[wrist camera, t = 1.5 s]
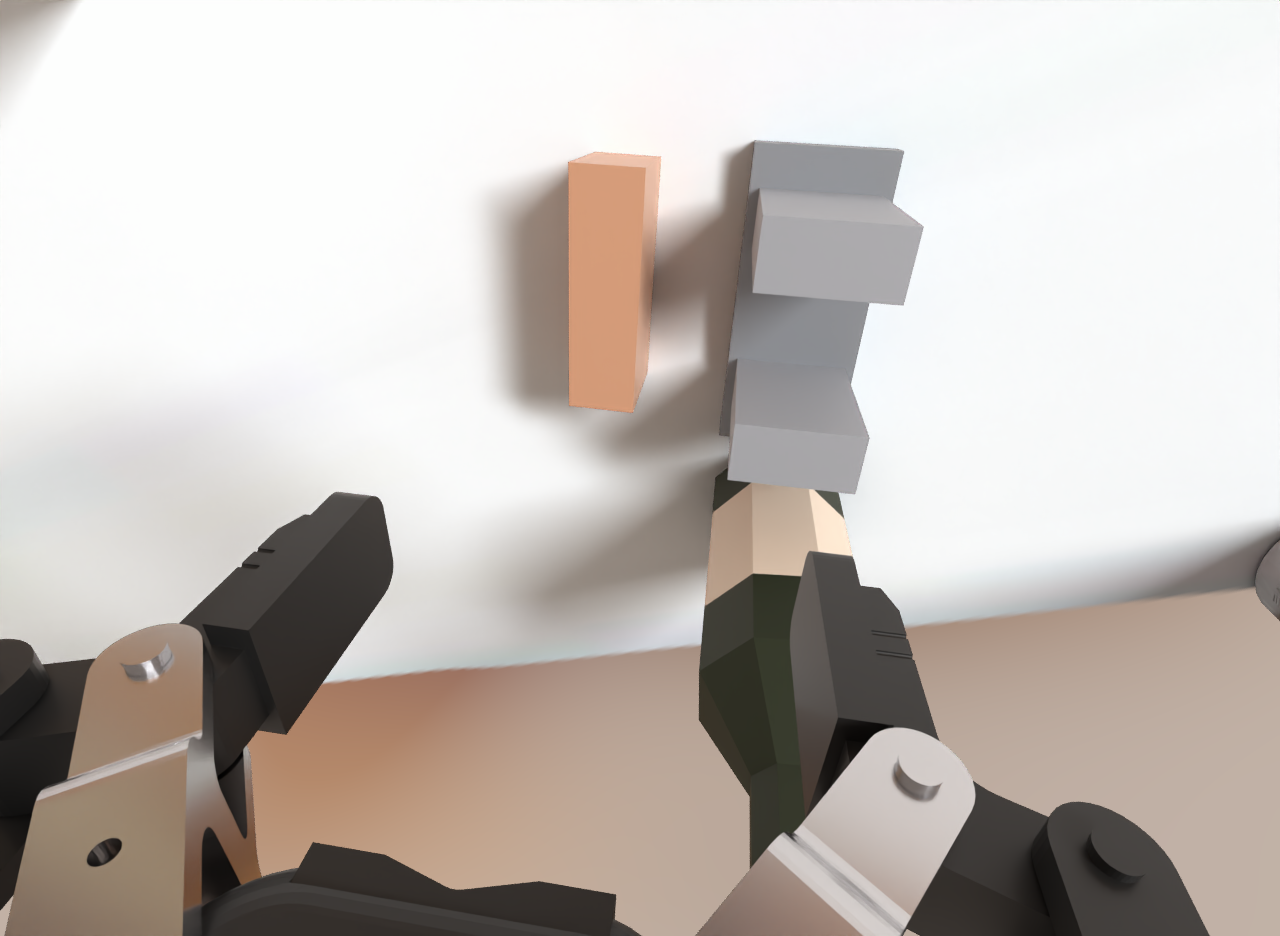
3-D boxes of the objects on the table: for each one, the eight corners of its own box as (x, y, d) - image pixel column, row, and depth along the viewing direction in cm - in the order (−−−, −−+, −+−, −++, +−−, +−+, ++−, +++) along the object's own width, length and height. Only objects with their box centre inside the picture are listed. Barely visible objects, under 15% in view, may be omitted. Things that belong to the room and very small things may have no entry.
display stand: (897, 149, 32) (953, 169, 23) (833, 436, 40) (856, 530, 31) (754, 140, 32) (757, 157, 24) (720, 424, 41) (712, 512, 32)
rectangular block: (661, 156, 34) (645, 167, 28) (647, 371, 40) (632, 412, 35) (595, 151, 34) (568, 162, 29) (591, 365, 40) (569, 405, 35)
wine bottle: (736, 563, 46) (721, 1161, 20) (691, 468, 42) (604, 1040, 17) (854, 532, 43) (1010, 1177, 17) (815, 427, 40) (939, 1037, 14)
